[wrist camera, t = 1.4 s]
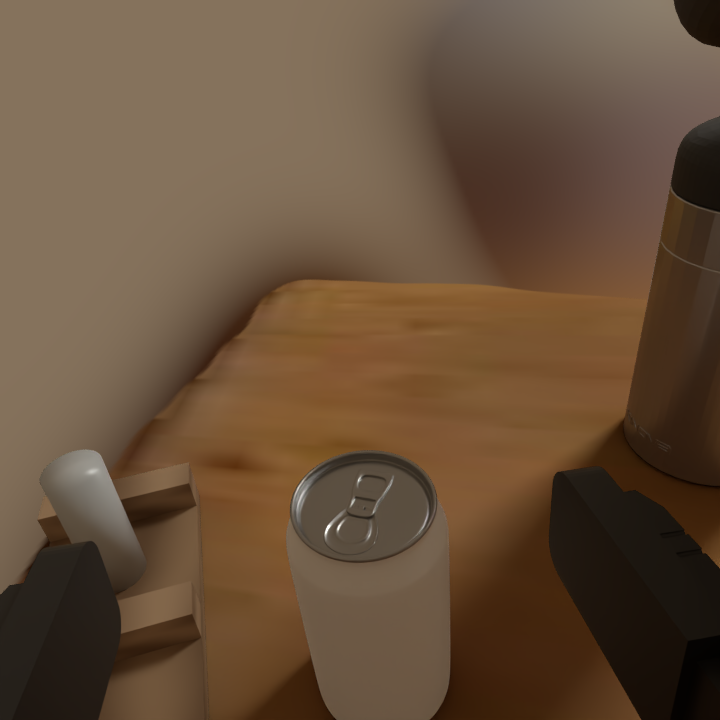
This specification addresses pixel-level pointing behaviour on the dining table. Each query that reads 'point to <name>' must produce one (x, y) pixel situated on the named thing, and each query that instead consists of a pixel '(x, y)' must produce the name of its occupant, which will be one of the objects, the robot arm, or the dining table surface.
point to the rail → (177, 665)
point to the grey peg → (94, 513)
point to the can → (373, 585)
